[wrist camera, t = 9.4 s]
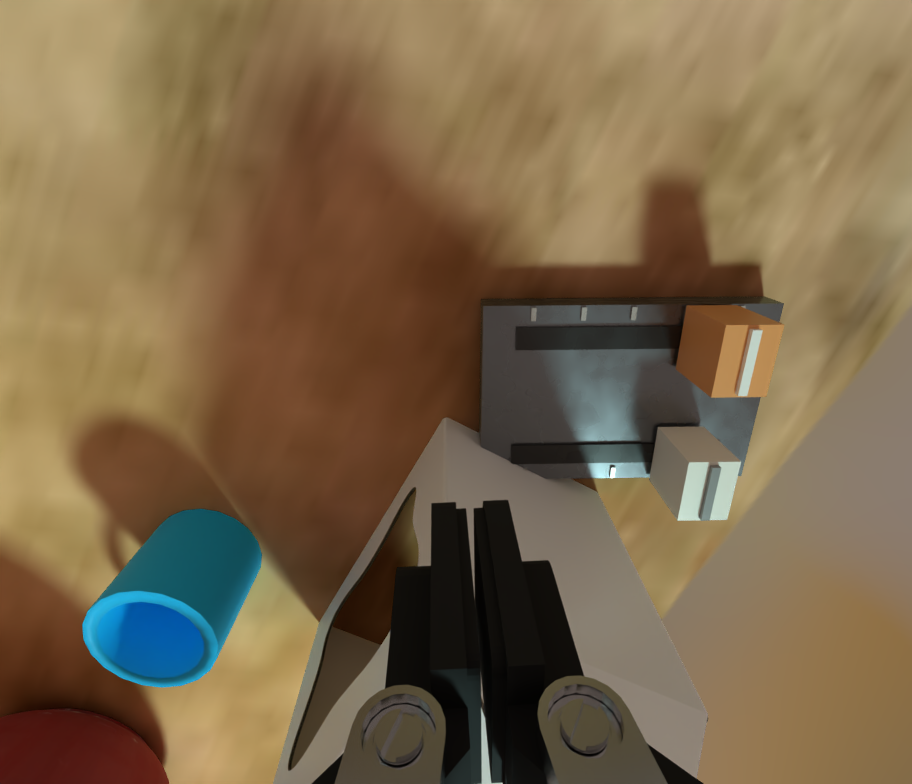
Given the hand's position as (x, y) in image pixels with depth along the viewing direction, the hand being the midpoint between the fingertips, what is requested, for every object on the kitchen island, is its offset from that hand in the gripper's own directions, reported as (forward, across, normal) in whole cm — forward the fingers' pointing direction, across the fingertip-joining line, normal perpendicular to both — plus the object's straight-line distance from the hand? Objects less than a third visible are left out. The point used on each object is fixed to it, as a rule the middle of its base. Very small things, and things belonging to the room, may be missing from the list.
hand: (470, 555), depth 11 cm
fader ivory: (+20, -15, +10) cm, 27 cm away
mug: (+23, +20, +20) cm, 37 cm away
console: (+22, -11, +6) cm, 25 cm away
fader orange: (+20, -16, +2) cm, 25 cm away
